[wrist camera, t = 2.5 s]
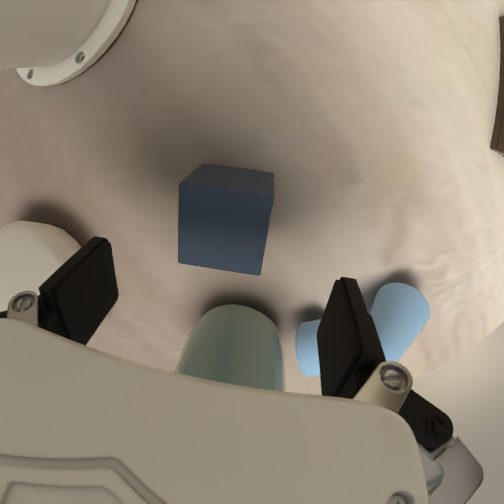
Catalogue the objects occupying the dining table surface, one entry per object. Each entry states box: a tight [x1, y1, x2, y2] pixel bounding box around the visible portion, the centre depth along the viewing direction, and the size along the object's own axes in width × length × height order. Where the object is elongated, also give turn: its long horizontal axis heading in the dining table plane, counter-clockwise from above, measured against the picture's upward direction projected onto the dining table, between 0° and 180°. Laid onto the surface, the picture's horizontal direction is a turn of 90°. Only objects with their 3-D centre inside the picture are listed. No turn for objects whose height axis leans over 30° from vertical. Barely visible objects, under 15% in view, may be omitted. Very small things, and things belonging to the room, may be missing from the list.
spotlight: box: [296, 283, 430, 377], centre depth 19 cm, size 5×10×7 cm, turn 118°
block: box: [178, 164, 274, 275], centre depth 16 cm, size 5×5×5 cm
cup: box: [175, 304, 285, 392], centre depth 19 cm, size 8×8×10 cm
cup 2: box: [0, 220, 92, 346], centre depth 16 cm, size 13×13×14 cm
